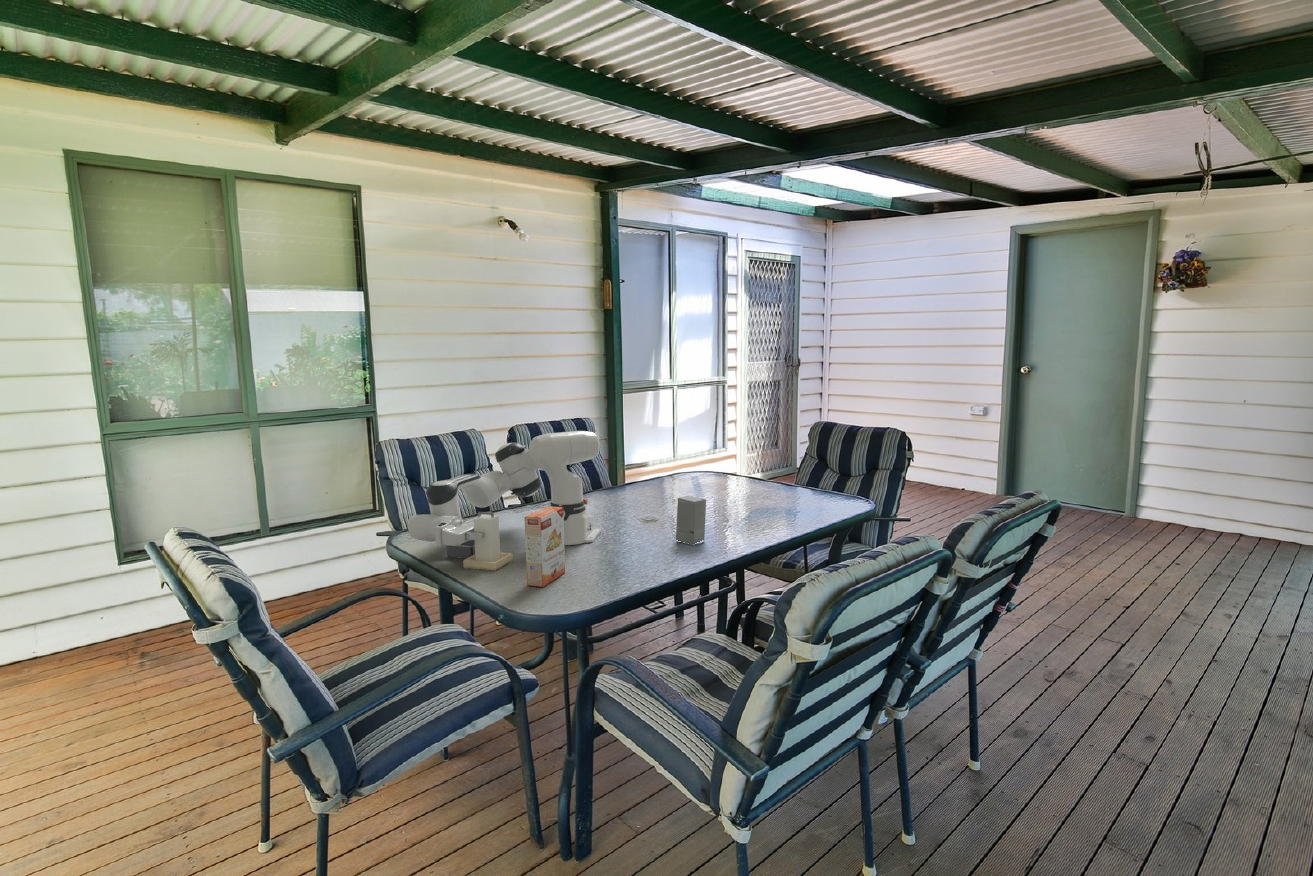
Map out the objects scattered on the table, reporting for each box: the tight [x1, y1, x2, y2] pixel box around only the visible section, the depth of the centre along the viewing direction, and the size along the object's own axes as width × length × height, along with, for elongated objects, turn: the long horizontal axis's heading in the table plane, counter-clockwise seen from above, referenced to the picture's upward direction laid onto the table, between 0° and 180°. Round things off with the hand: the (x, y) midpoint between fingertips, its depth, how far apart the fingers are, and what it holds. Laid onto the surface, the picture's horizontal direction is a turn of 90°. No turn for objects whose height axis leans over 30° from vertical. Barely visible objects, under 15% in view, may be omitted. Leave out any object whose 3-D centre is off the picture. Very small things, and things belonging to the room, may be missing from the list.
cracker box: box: [524, 505, 566, 588], centre depth 210 cm, size 14×6×21 cm, turn 160°
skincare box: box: [675, 495, 707, 545], centre depth 247 cm, size 8×7×16 cm
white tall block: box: [472, 511, 501, 562], centre depth 226 cm, size 5×6×16 cm
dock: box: [446, 539, 475, 559], centre depth 239 cm, size 9×10×4 cm
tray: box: [462, 551, 514, 572], centre depth 227 cm, size 11×12×2 cm
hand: (489, 532), depth 226 cm, fingers open, 6 cm apart
